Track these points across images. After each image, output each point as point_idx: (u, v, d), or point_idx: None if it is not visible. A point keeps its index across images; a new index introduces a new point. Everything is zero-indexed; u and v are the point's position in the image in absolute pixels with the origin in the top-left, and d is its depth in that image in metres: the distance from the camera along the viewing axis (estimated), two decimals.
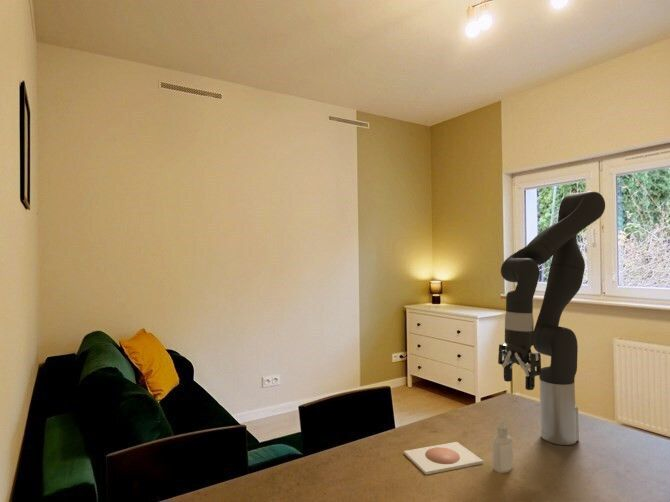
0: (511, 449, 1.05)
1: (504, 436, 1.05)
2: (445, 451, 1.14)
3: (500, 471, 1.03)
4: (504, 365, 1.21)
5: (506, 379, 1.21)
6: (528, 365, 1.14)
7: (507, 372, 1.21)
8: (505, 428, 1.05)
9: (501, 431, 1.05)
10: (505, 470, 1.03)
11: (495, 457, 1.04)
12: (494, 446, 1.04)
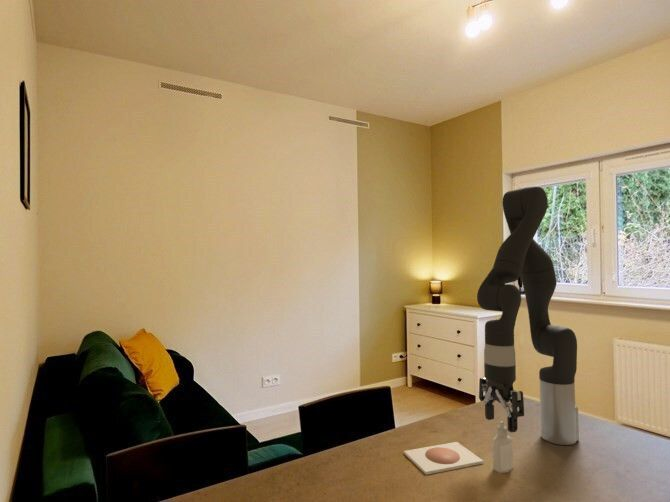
0: (511, 449, 1.05)
1: (504, 436, 1.05)
2: (445, 451, 1.14)
3: (500, 471, 1.03)
4: (485, 402, 1.10)
5: (488, 417, 1.09)
6: (510, 404, 1.02)
7: (489, 409, 1.09)
8: (505, 428, 1.05)
9: (501, 431, 1.05)
10: (505, 470, 1.03)
11: (495, 457, 1.04)
12: (494, 446, 1.04)
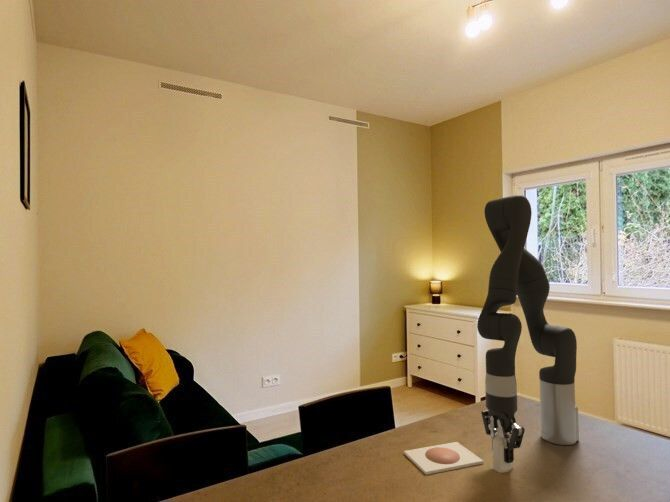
0: None
1: None
2: (445, 451, 1.14)
3: (500, 471, 1.03)
4: (492, 437, 1.07)
5: None
6: (509, 436, 1.03)
7: None
8: None
9: None
10: (505, 470, 1.04)
11: (495, 457, 1.04)
12: (494, 446, 1.04)
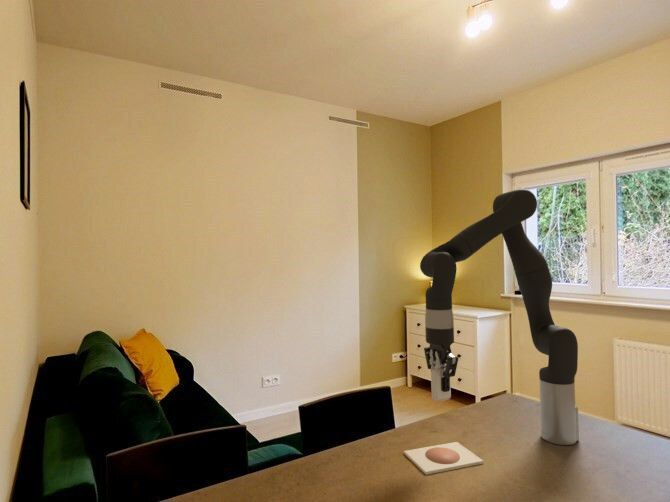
0: None
1: None
2: (445, 451, 1.14)
3: (437, 399, 1.10)
4: None
5: None
6: (445, 366, 1.10)
7: None
8: None
9: None
10: (442, 398, 1.10)
11: (432, 387, 1.11)
12: (432, 377, 1.11)
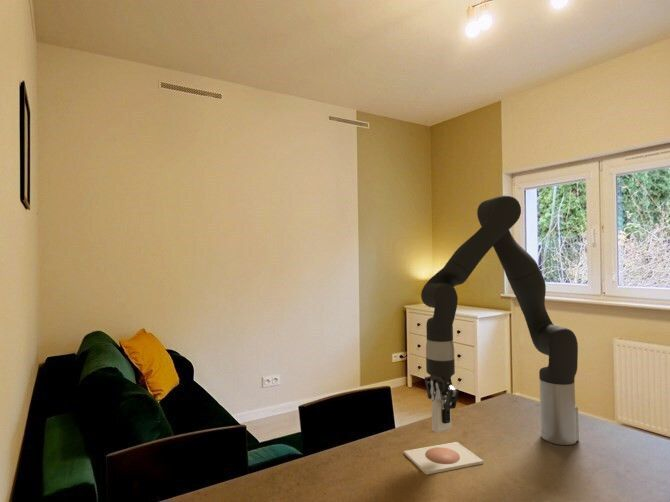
0: None
1: None
2: (445, 451, 1.14)
3: (437, 431, 1.10)
4: (433, 400, 1.14)
5: None
6: (446, 398, 1.09)
7: None
8: None
9: None
10: (442, 430, 1.10)
11: (433, 418, 1.11)
12: (432, 408, 1.11)
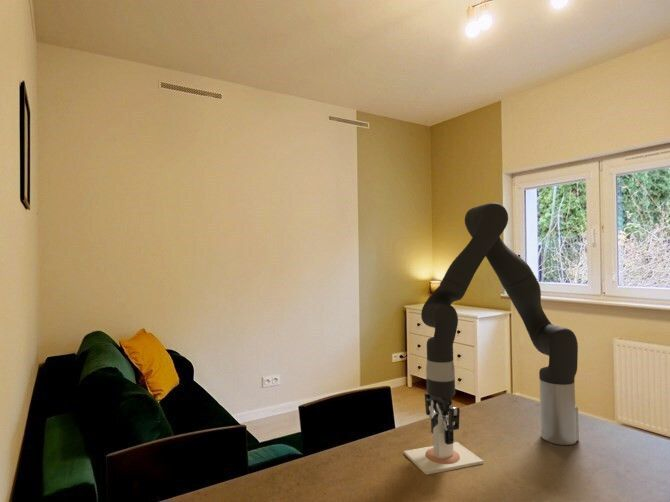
0: None
1: (443, 424, 1.10)
2: None
3: (438, 457, 1.09)
4: (430, 417, 1.15)
5: None
6: (448, 418, 1.09)
7: (434, 424, 1.15)
8: None
9: None
10: (443, 456, 1.09)
11: (434, 444, 1.10)
12: (434, 433, 1.10)
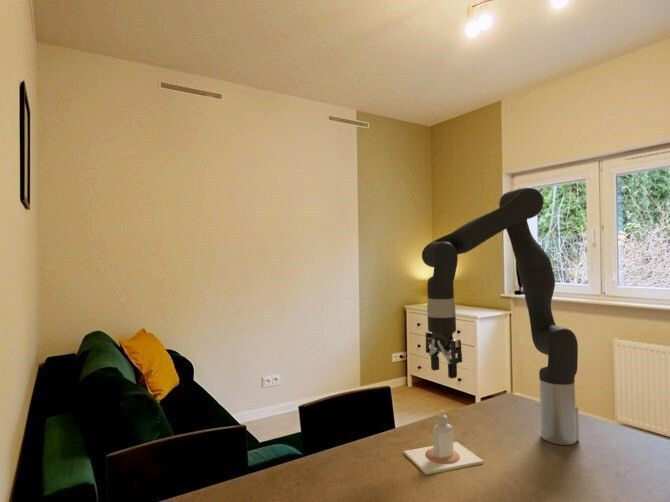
0: (451, 437, 1.11)
1: (443, 424, 1.10)
2: None
3: (438, 457, 1.09)
4: (430, 354, 1.17)
5: (433, 368, 1.17)
6: (450, 352, 1.10)
7: (434, 361, 1.17)
8: (445, 417, 1.11)
9: (441, 419, 1.11)
10: (443, 456, 1.09)
11: (434, 444, 1.10)
12: (434, 433, 1.10)
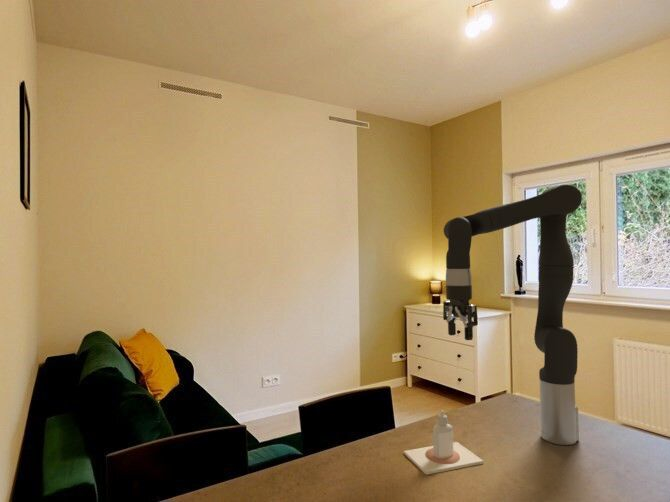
0: (451, 437, 1.11)
1: (443, 424, 1.10)
2: None
3: (438, 457, 1.09)
4: (448, 320, 1.28)
5: (450, 333, 1.28)
6: (466, 317, 1.21)
7: (451, 326, 1.28)
8: (445, 417, 1.11)
9: (441, 419, 1.11)
10: (443, 456, 1.09)
11: (434, 444, 1.10)
12: (434, 433, 1.10)
